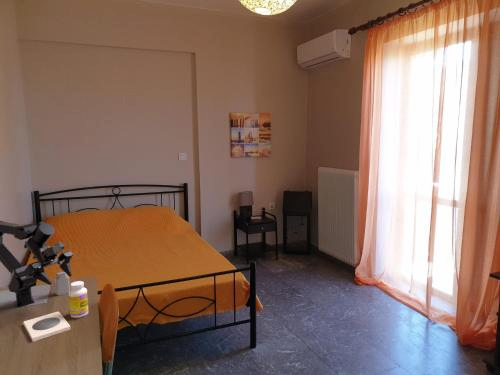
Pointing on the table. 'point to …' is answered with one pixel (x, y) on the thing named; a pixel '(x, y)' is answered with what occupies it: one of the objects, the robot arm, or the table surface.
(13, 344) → the table surface
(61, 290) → the power adapter
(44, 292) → the table surface
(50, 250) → the robot arm
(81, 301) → the supplement bottle
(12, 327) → the table surface
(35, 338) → the base
